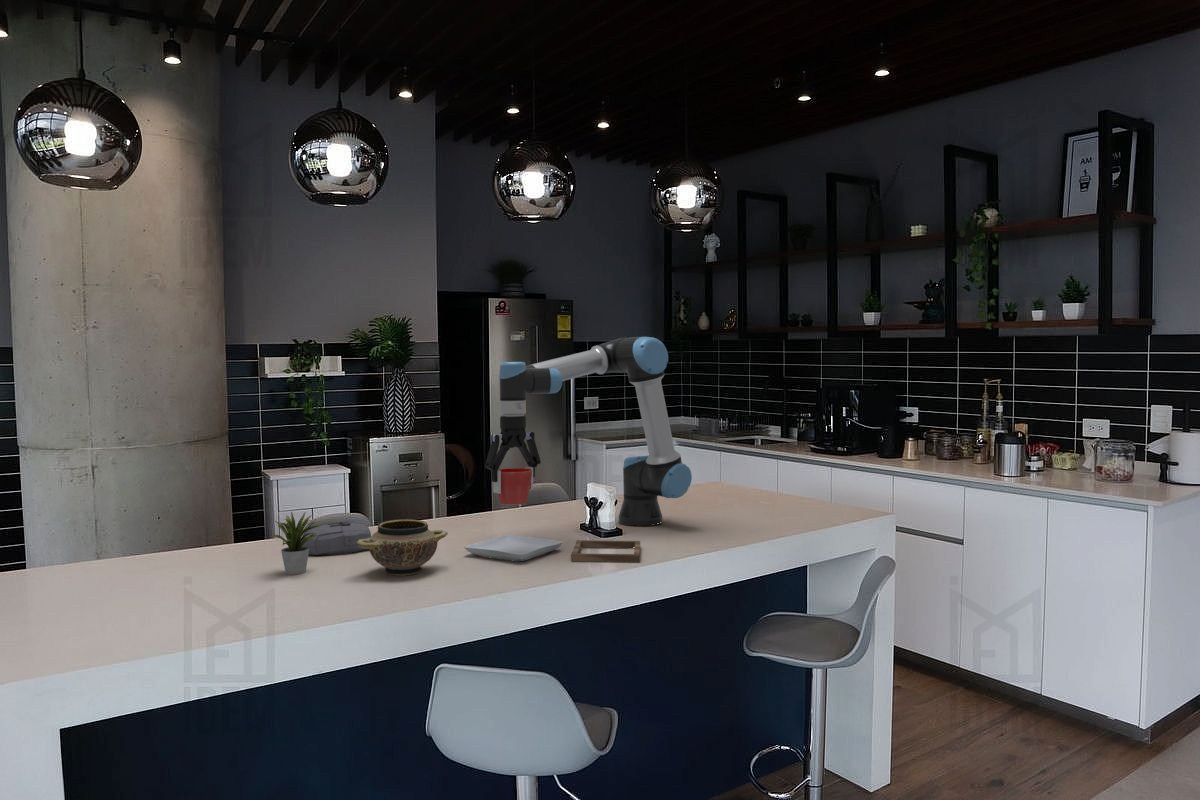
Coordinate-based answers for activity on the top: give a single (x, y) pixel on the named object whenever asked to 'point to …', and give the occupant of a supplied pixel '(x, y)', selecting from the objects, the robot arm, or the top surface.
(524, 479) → the flower pot
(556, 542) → the salad plate
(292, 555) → the house plant
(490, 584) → the top surface
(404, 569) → the ceramic bowl
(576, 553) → the holder frame
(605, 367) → the robot arm
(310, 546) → the soft grey pack
